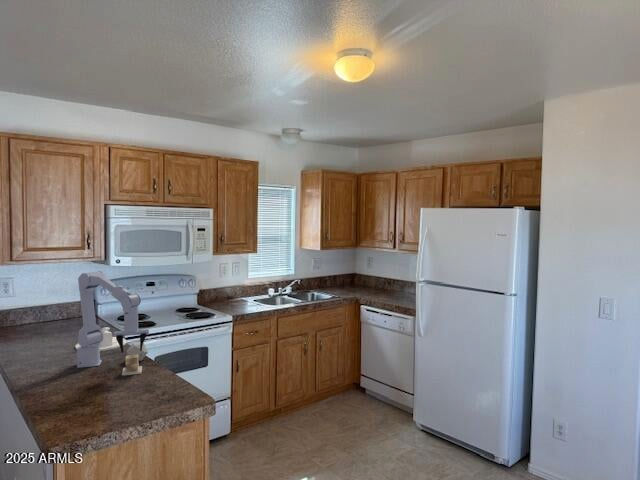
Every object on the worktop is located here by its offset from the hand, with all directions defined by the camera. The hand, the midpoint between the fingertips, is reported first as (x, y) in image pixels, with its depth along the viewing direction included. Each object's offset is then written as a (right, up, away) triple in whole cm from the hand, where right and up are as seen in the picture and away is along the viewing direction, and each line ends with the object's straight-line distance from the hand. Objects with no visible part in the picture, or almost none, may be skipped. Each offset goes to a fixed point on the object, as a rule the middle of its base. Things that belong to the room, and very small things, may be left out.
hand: (131, 351), depth 201 cm
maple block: (0, -9, 0) cm, 9 cm away
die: (-4, -9, +17) cm, 20 cm away
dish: (-35, -8, +42) cm, 55 cm away
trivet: (0, -9, +1) cm, 9 cm away
